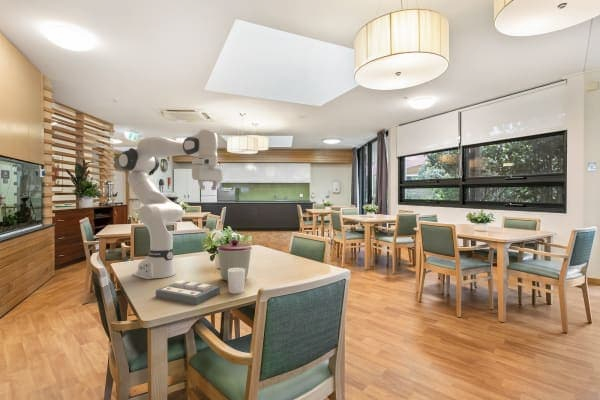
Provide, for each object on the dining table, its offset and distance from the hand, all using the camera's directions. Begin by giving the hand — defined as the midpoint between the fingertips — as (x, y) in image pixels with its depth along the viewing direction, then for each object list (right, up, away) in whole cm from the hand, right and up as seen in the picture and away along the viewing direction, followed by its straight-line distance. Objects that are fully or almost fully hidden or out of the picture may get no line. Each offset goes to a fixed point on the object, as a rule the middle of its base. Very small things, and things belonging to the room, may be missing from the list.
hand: (208, 189), depth 146 cm
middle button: (-2, -45, -16) cm, 48 cm away
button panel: (-3, -47, -18) cm, 50 cm away
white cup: (+17, -47, -12) cm, 52 cm away
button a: (-8, -45, -14) cm, 47 cm away
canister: (+11, -47, +8) cm, 49 cm away
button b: (+4, -45, -18) cm, 49 cm away
